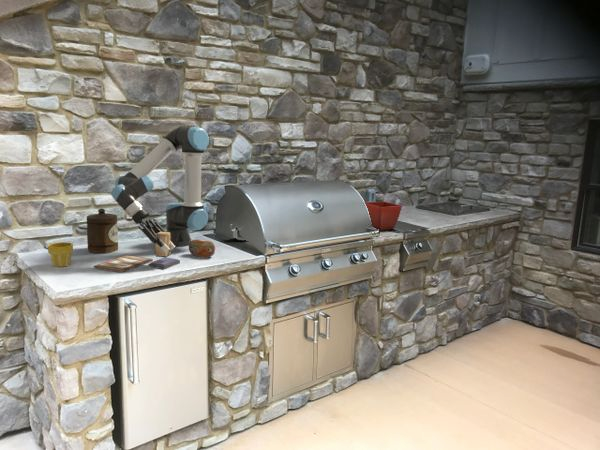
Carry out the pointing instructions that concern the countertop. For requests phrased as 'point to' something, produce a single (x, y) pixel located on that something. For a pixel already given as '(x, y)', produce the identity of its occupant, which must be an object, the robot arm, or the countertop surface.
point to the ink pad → (164, 263)
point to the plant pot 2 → (383, 214)
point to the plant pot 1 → (60, 253)
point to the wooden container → (102, 232)
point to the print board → (123, 263)
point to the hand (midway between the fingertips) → (170, 249)
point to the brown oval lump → (201, 248)
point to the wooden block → (166, 239)
